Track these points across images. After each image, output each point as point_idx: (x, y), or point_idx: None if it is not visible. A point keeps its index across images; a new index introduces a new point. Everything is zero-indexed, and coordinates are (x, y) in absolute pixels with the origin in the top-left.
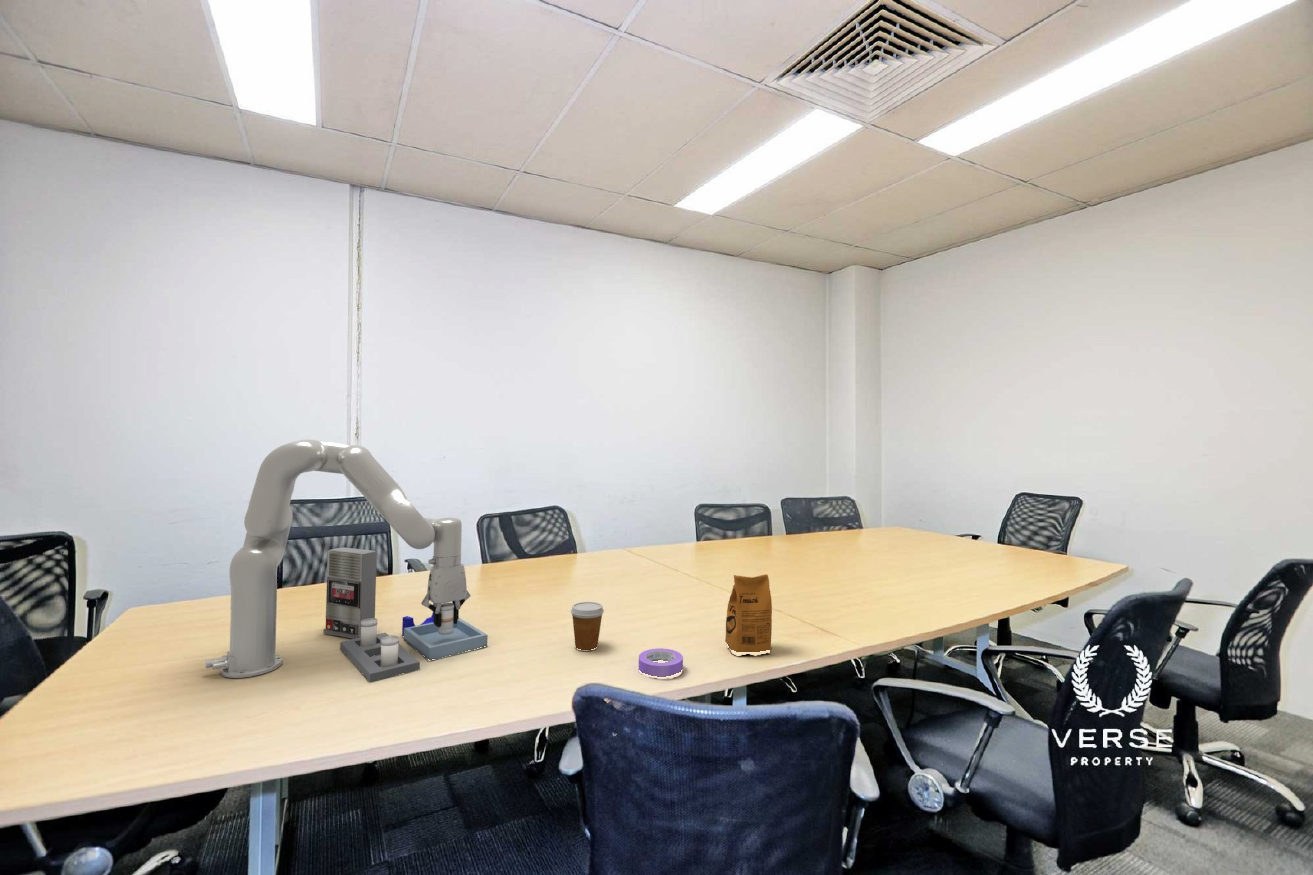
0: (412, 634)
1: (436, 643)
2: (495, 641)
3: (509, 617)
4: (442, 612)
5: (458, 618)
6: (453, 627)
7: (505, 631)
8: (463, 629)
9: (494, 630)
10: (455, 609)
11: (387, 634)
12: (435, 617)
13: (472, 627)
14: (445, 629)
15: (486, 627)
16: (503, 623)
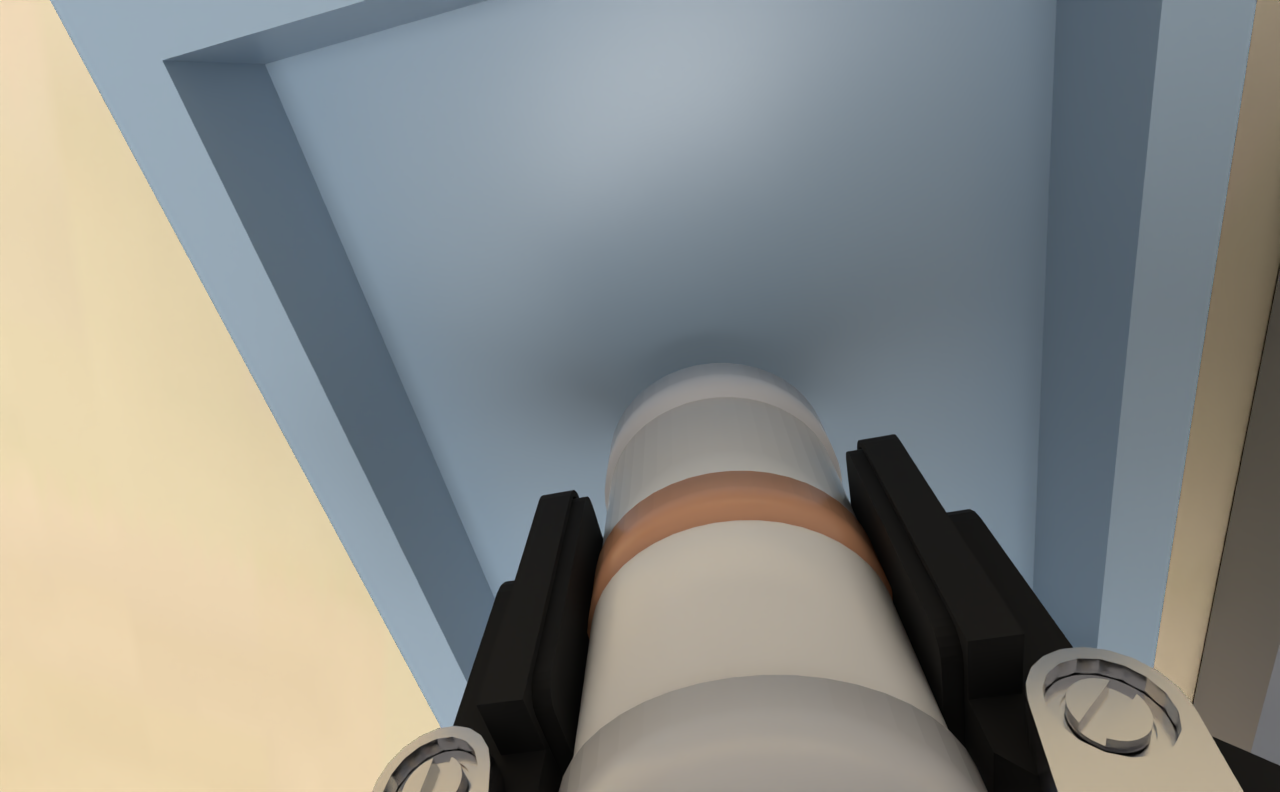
0: (1169, 538)
1: (834, 363)
2: (112, 199)
3: (62, 769)
4: (909, 682)
5: (501, 586)
6: (609, 481)
7: (38, 473)
8: (472, 591)
9: (166, 544)
10: (525, 757)
11: (1255, 737)
12: (1038, 604)
13: (336, 468)
14: (757, 410)
15: (256, 643)
16: (96, 672)
